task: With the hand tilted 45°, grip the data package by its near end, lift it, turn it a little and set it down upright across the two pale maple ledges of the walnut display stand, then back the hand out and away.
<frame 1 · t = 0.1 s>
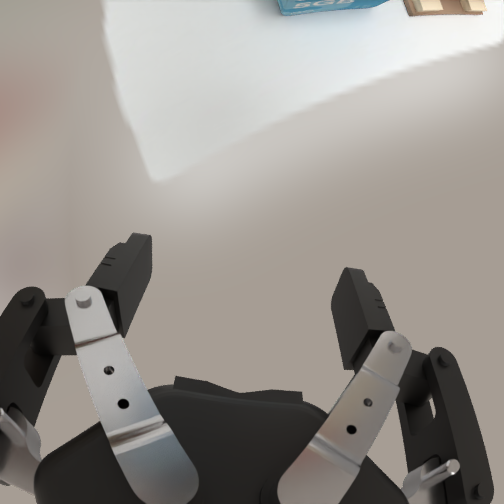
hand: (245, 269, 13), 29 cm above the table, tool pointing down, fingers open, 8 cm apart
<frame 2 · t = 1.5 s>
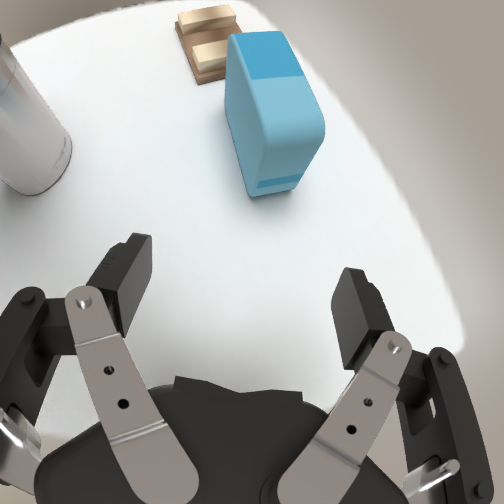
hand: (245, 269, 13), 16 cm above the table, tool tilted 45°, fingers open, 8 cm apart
display stand: (214, 46, 34), on the table
data package: (256, 147, 32), on the table
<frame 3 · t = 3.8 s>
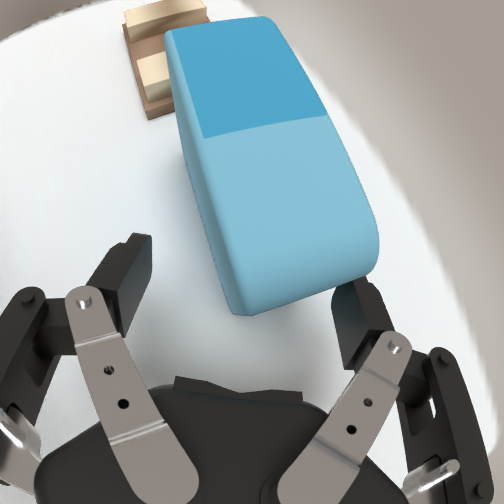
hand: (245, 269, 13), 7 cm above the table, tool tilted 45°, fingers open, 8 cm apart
display stand: (176, 55, 23), on the table
data package: (236, 218, 21), on the table, touching gripper
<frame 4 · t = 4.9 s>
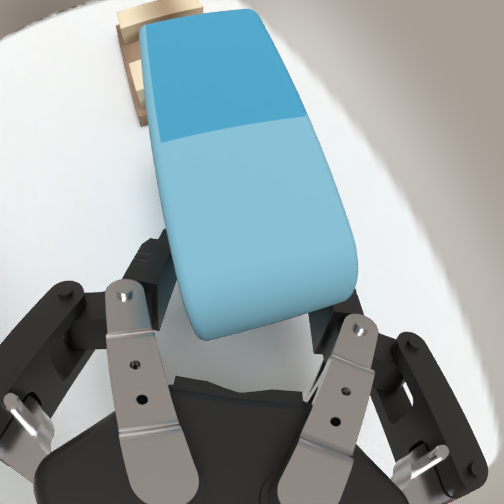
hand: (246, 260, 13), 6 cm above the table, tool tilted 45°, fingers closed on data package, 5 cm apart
display stand: (171, 57, 22), on the table
data package: (223, 224, 20), on the table, touching gripper
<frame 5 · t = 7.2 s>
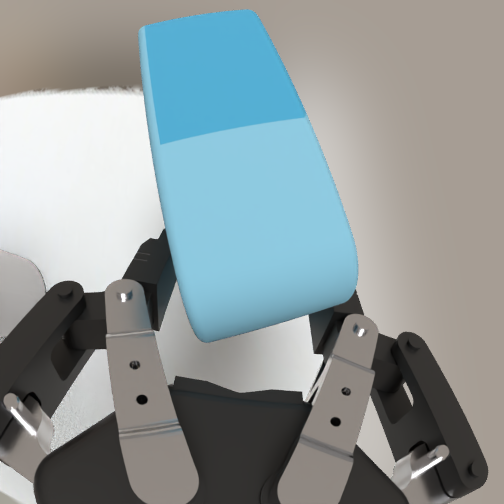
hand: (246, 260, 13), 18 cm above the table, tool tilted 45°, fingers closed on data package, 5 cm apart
data package: (223, 225, 20), point 12 cm above the table, touching gripper
when the fingers open (10 cm above the table, at t = 9.9 s): data package drops 1 cm, resting on display stand.
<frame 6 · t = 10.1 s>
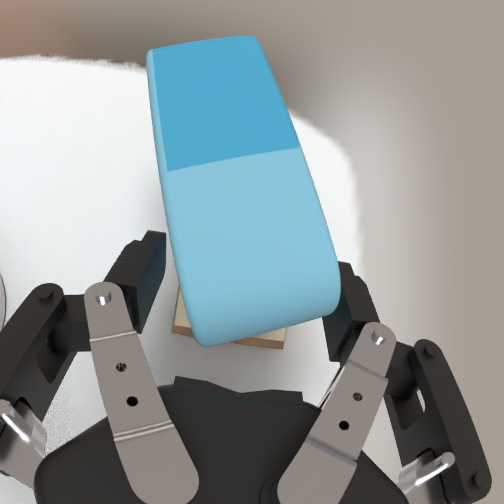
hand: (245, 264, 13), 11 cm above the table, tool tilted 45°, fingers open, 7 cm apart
display stand: (239, 255, 24), on the table
data package: (222, 235, 21), point 3 cm above the table, touching display stand
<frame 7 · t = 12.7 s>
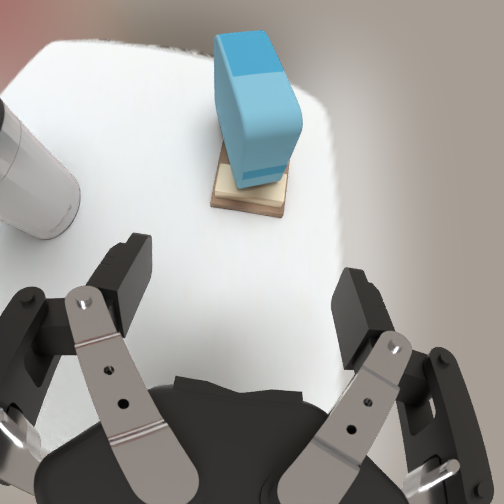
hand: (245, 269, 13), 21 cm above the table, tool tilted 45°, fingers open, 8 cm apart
display stand: (254, 161, 36), on the table
data package: (244, 142, 33), point 3 cm above the table, touching display stand
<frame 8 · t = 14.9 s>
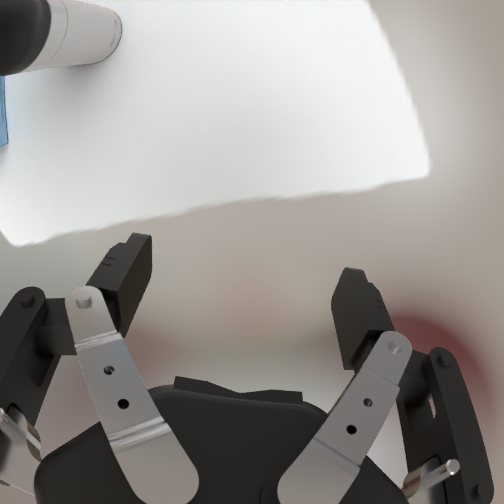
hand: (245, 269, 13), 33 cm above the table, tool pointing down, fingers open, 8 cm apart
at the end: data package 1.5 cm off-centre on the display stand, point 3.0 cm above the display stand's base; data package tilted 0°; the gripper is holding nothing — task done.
